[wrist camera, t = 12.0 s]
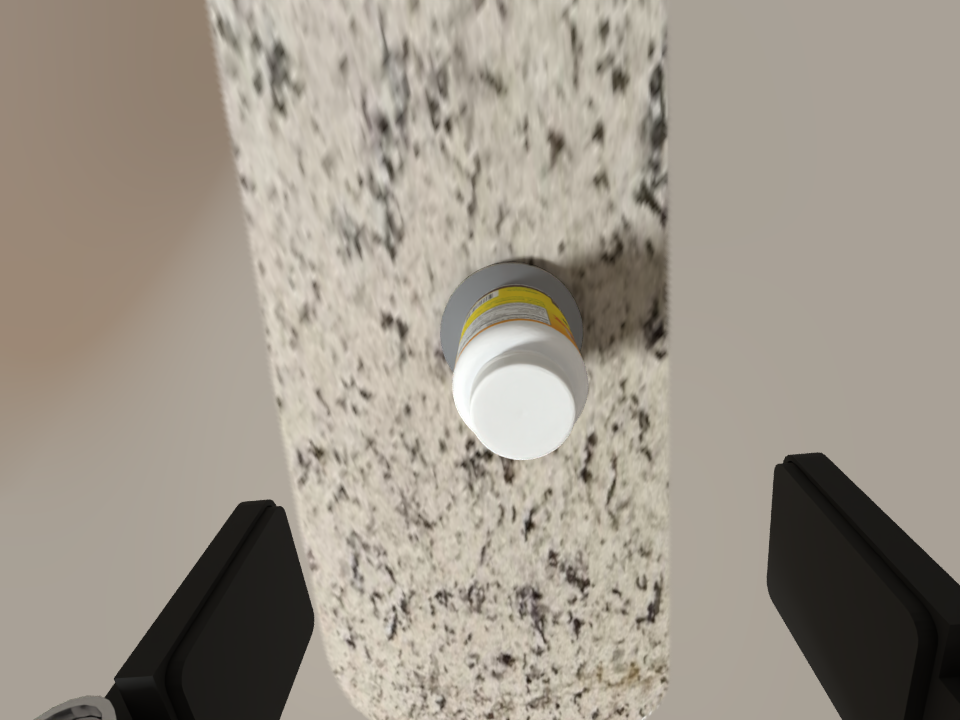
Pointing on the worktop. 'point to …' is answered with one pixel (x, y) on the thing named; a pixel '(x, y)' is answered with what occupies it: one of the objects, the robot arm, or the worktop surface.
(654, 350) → the worktop surface
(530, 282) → the slate coaster
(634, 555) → the worktop surface
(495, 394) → the supplement bottle
